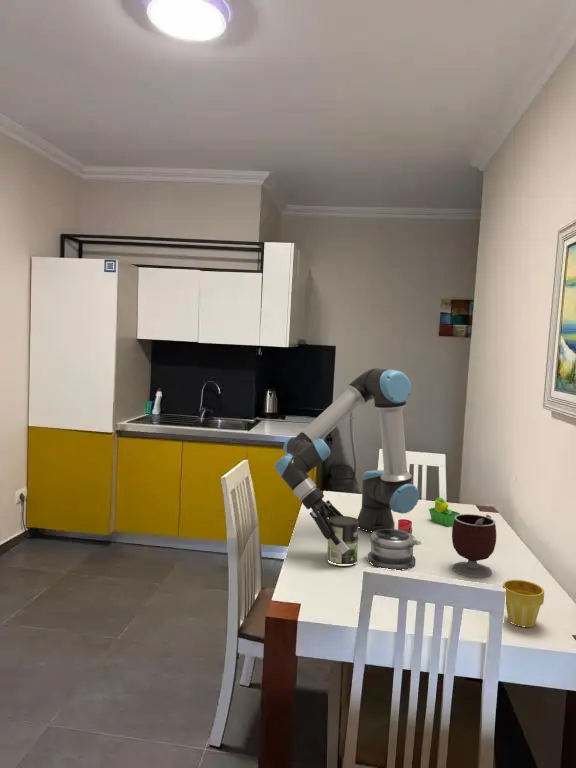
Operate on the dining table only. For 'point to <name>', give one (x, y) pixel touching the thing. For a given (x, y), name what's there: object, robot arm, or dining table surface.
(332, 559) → the coffee can
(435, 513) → the fruit basket
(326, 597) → the dining table surface
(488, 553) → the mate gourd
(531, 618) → the plant pot
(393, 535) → the cylinder
